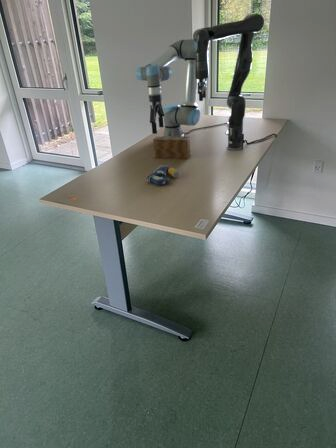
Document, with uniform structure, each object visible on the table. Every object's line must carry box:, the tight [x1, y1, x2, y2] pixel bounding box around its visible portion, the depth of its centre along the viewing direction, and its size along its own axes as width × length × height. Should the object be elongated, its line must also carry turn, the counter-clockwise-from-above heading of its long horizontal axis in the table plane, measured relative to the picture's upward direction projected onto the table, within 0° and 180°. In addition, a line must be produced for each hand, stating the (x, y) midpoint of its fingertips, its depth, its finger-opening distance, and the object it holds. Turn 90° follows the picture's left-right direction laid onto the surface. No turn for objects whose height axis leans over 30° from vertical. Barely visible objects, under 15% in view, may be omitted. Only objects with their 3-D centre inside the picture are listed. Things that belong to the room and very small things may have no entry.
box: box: [152, 136, 191, 160], centre depth 211 cm, size 22×6×12 cm, turn 74°
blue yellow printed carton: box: [146, 164, 180, 186], centre depth 185 cm, size 21×4×15 cm
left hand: (158, 130), depth 208 cm, fingers open, 13 cm apart
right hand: (202, 99), depth 198 cm, fingers open, 8 cm apart
